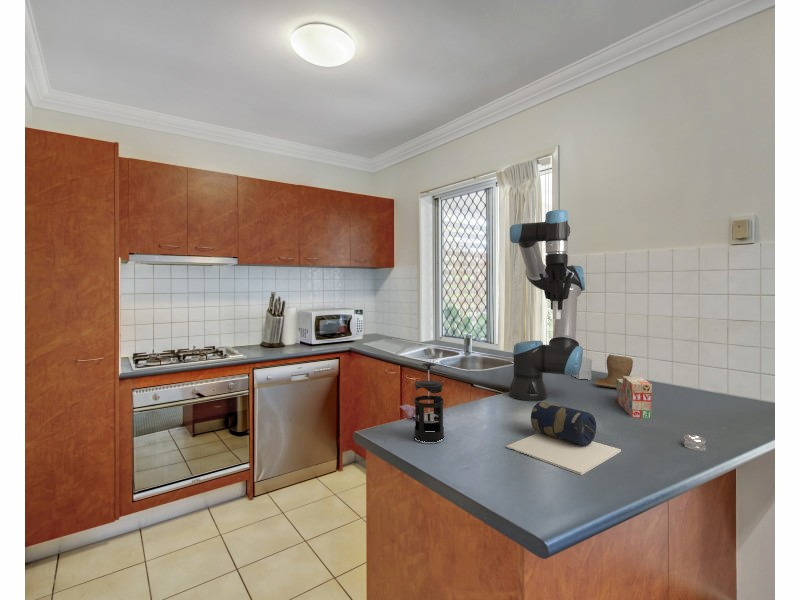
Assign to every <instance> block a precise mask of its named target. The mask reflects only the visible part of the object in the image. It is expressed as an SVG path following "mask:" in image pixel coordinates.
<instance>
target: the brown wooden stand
mask: <svg viewBox="0 0 800 600" xmlns="http://www.w3.org/2000/svg"><path fill="white" fill-rule="evenodd" d="M633 365H634V361H633V358H631V357H630V356H629V357H628V356H621V355H614V354H608V355H607V358H606V369H607V370H606V371H607V376H606V377H605V378H597V379H595V381H594V385H595V386H597V387H603V388H608V389H617V386H616V379H623V376H630V375H631V373H632V371H633V367H634V366H633Z"/></svg>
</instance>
